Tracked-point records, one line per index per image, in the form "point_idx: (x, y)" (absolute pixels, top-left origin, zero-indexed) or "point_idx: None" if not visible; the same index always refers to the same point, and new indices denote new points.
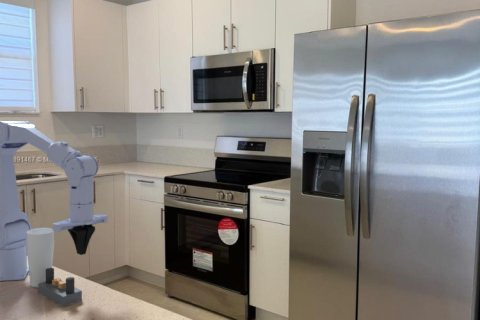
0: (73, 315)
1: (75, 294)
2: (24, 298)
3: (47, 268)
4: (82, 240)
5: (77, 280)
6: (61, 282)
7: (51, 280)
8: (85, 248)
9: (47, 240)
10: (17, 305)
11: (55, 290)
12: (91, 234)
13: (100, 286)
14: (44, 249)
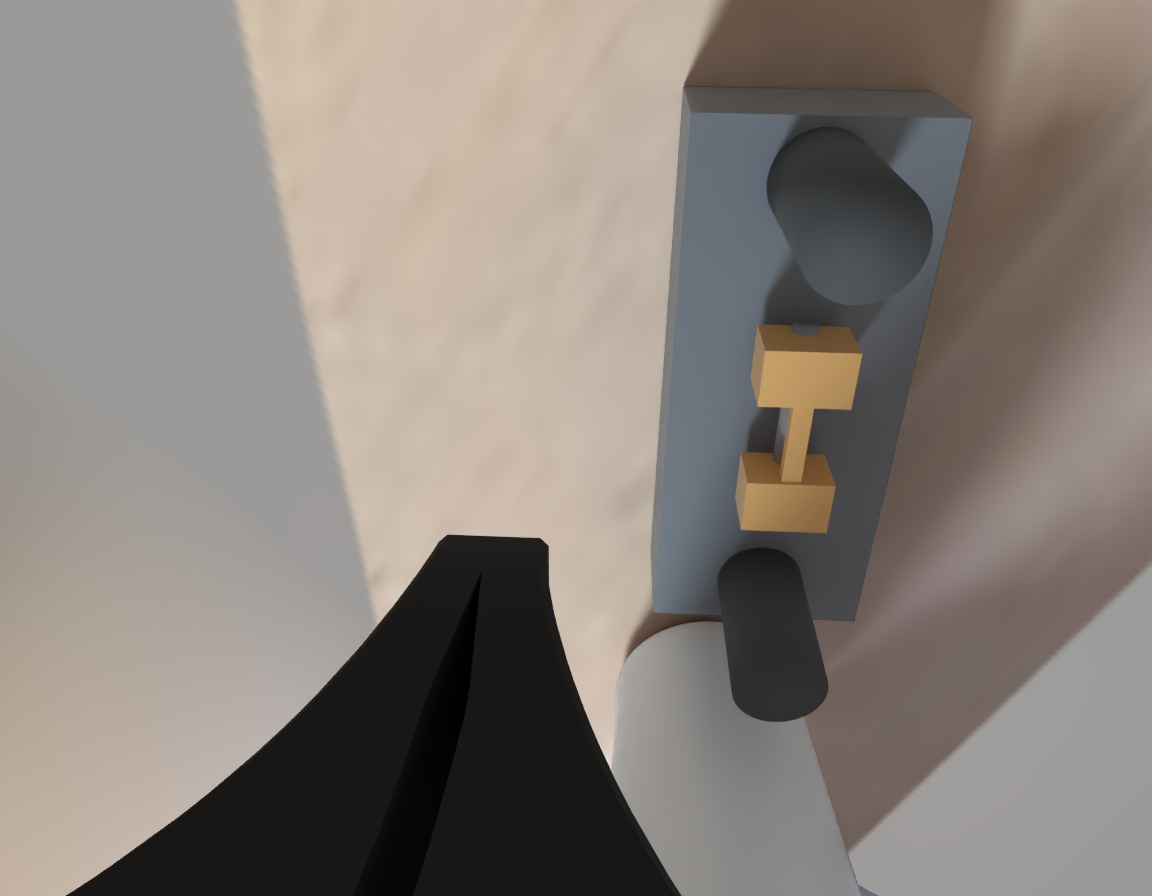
0: None
1: (784, 109)
2: (984, 541)
3: (779, 720)
4: (524, 763)
5: (420, 550)
6: (818, 394)
7: (772, 568)
8: (443, 599)
9: None
10: (1131, 461)
11: (881, 359)
12: (179, 850)
13: (312, 268)
14: None
